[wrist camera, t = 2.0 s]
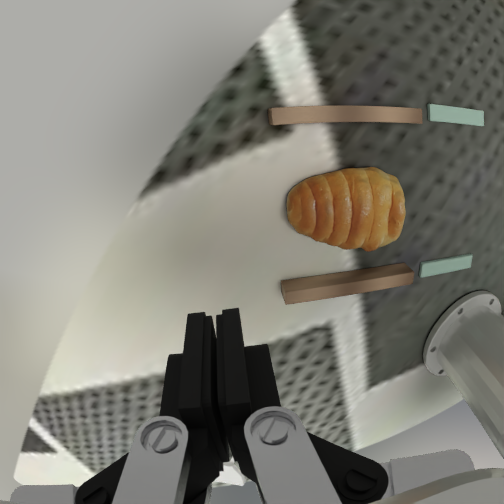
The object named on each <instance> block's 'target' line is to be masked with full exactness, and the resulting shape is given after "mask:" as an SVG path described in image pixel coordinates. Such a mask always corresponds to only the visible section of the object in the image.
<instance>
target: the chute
mask: <svg viewBox="0 0 504 504" xmlns="http://www.w3.org/2000/svg"><path fill="white" fill-rule="evenodd" d="M268 118H269V125H281V124H297V123H319V122H399V123H420V124H422V109H416V108H402V107H383V106H300V107H281V108H270V109H268ZM413 277H414V271H413V270H412V269H410V268H409V267H408V266H407V265H406V264H405V263H399V264H393V265H386V266H380V267H373V268H367V269H360V270H353V271H347V272H340V273H333V274H326V275H319V276H311V277H304V278H297V279H289V280H281V289H282V295H283V298H284V301H285V304H286V305H287V304H294V303H301V302H308V301H314V300H321V299H327V298H334V297H340V296H346V295H352V294H358V293H364V292H370V291H376V290H381V289H387V288H392V287H398V286H403V285H408V284H413Z"/></svg>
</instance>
